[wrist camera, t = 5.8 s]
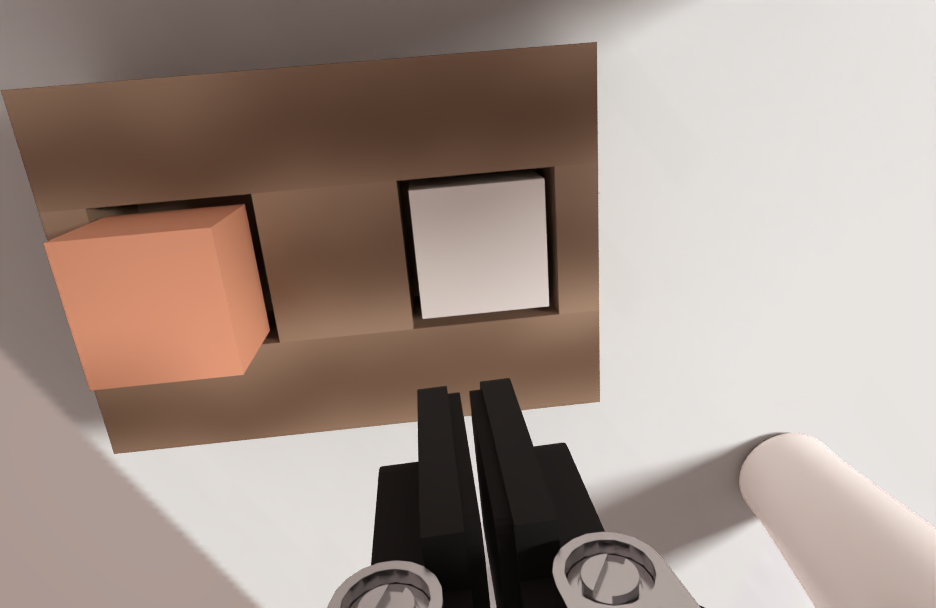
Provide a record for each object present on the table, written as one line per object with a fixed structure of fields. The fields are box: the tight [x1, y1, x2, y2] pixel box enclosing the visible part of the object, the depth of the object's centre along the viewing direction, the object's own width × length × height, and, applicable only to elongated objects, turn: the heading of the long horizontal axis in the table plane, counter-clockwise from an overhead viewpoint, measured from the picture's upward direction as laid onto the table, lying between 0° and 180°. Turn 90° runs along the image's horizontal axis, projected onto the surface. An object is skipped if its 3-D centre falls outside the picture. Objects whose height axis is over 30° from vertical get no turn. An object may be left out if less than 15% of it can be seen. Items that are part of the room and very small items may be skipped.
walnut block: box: [1, 42, 600, 454], centre depth 26 cm, size 14×20×6 cm
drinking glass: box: [739, 433, 936, 608], centre depth 29 cm, size 7×7×15 cm
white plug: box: [409, 169, 549, 319], centre depth 26 cm, size 5×5×4 cm
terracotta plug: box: [43, 204, 270, 391], centre depth 22 cm, size 5×5×4 cm
